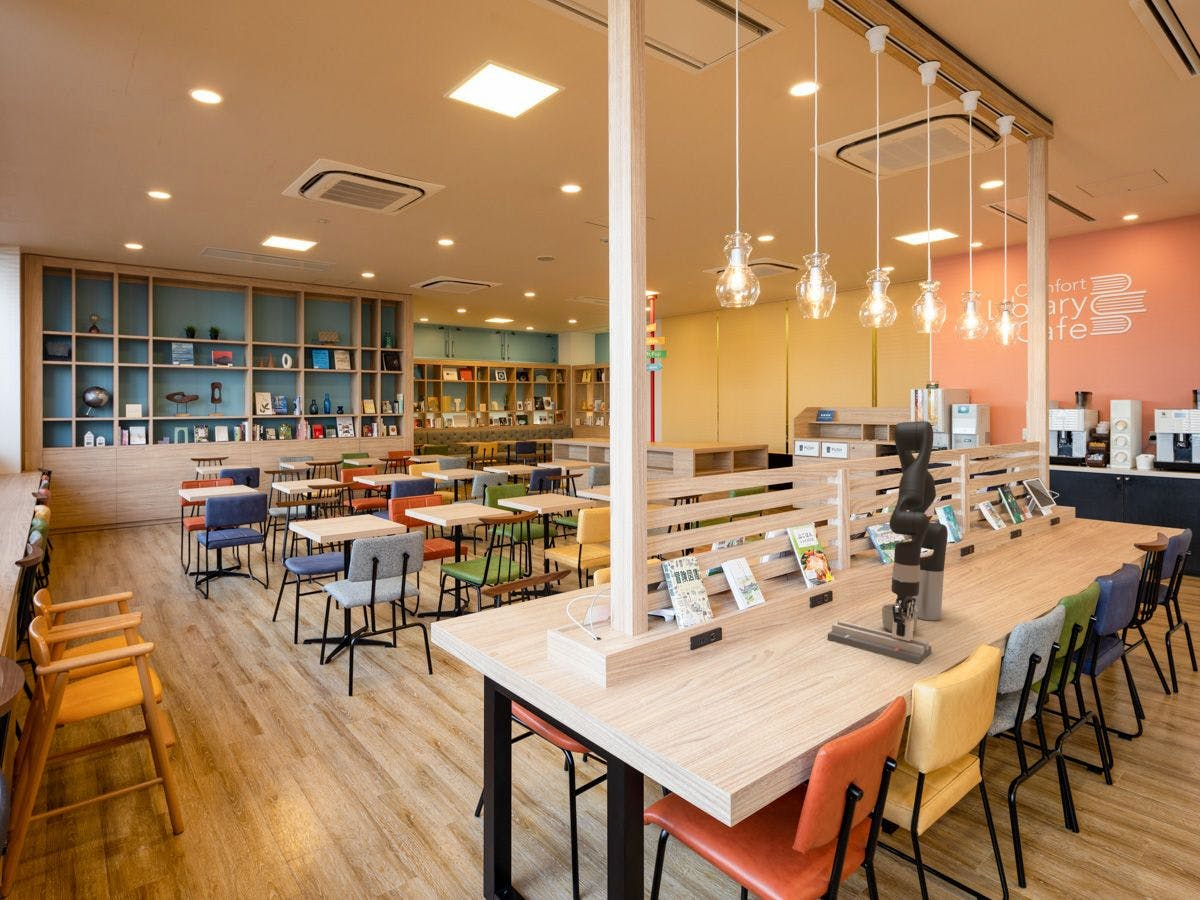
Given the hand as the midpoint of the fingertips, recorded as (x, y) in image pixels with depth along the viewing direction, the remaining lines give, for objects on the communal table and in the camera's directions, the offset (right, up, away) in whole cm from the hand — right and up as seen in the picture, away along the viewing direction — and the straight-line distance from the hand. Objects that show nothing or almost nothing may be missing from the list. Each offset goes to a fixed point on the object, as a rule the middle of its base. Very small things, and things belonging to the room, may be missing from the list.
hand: (902, 634), depth 202 cm
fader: (0, -3, 0) cm, 3 cm away
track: (-5, -5, +5) cm, 9 cm away
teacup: (+9, -4, +20) cm, 22 cm away
